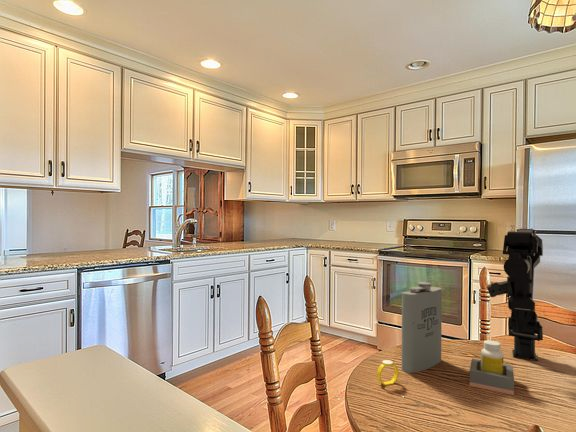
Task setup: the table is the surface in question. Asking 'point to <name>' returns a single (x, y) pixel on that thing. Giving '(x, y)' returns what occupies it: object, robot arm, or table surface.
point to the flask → (421, 327)
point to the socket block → (492, 378)
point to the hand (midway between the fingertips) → (519, 327)
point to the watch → (384, 364)
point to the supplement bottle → (492, 357)
